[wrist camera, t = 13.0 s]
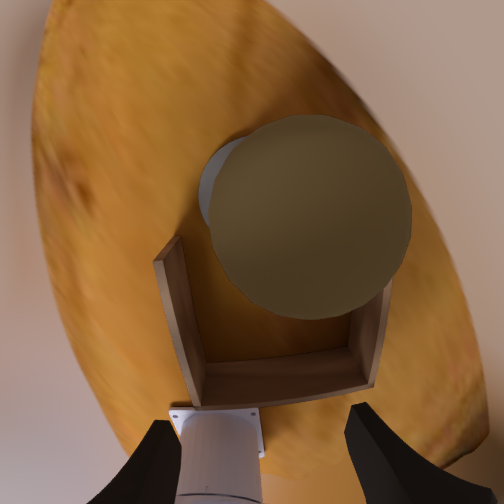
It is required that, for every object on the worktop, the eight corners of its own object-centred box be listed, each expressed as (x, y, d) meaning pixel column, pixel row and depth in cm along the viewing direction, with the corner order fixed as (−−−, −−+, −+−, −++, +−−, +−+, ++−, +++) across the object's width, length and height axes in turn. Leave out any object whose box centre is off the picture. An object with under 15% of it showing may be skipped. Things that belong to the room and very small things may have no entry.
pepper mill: (276, 257, 17) (327, 391, 7) (196, 194, 16) (121, 256, 5) (341, 182, 16) (479, 222, 5) (264, 113, 15) (315, 27, 4)
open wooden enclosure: (353, 349, 21) (373, 387, 16) (201, 368, 20) (195, 410, 16) (361, 218, 17) (395, 236, 13) (173, 236, 17) (152, 261, 13)
